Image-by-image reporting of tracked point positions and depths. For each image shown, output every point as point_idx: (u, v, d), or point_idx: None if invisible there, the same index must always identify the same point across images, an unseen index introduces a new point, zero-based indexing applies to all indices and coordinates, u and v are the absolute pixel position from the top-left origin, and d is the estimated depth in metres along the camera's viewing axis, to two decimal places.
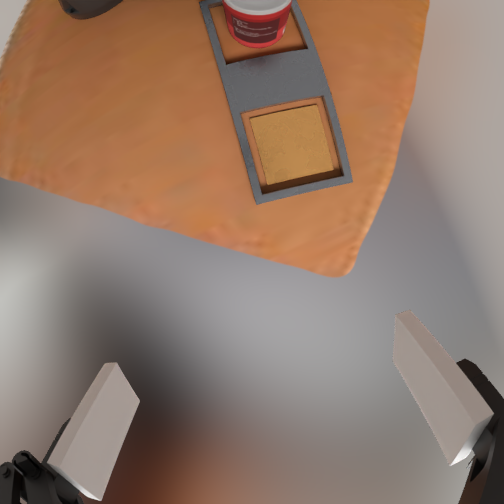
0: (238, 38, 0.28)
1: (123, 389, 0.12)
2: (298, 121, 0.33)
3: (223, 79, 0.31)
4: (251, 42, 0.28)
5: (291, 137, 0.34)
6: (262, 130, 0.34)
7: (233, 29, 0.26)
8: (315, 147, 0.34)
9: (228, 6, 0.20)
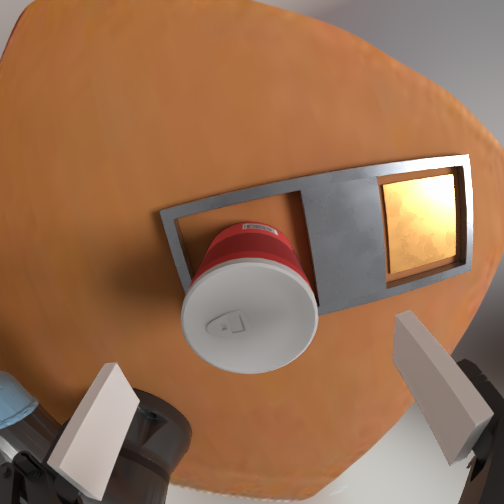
0: None
1: (123, 389, 0.12)
2: (402, 213, 0.24)
3: (340, 308, 0.26)
4: None
5: (418, 224, 0.25)
6: (405, 258, 0.26)
7: None
8: (431, 194, 0.24)
9: None
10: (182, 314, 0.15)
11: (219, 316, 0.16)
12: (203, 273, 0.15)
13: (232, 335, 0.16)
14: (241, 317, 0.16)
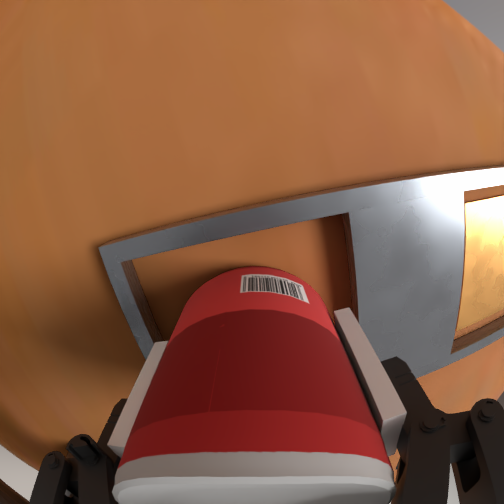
0: None
1: None
2: (483, 247, 0.13)
3: None
4: None
5: (498, 260, 0.14)
6: (476, 309, 0.15)
7: None
8: None
9: None
10: (117, 500, 0.05)
11: None
12: (139, 459, 0.05)
13: None
14: None
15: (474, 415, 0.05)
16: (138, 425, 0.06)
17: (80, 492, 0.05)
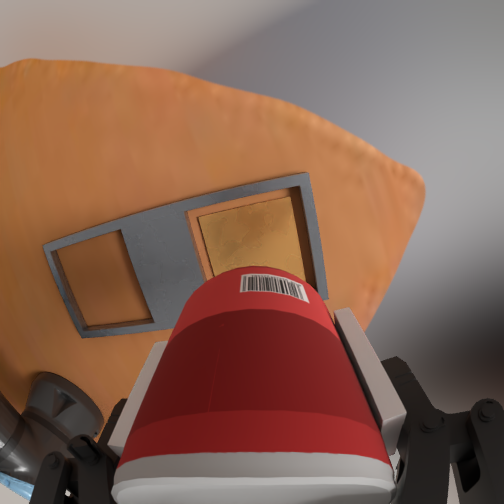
0: None
1: None
2: (223, 243, 0.28)
3: (173, 326, 0.30)
4: None
5: (245, 252, 0.28)
6: None
7: None
8: (259, 221, 0.27)
9: None
10: (116, 501, 0.05)
11: None
12: (138, 459, 0.04)
13: None
14: None
15: (474, 415, 0.05)
16: (137, 425, 0.06)
17: (80, 492, 0.05)
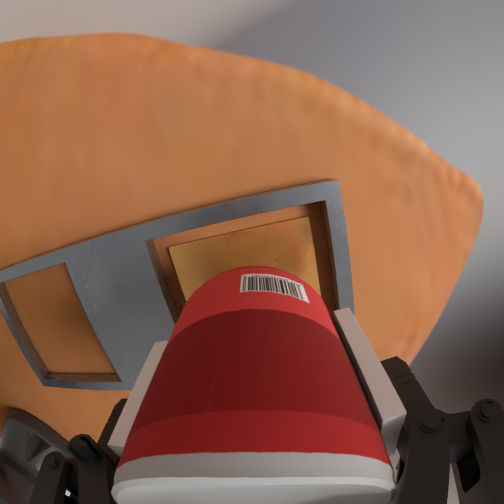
0: None
1: None
2: None
3: None
4: None
5: None
6: None
7: None
8: (261, 254, 0.18)
9: None
10: (116, 500, 0.05)
11: None
12: (138, 459, 0.04)
13: None
14: None
15: (474, 415, 0.05)
16: (137, 425, 0.06)
17: (80, 492, 0.05)
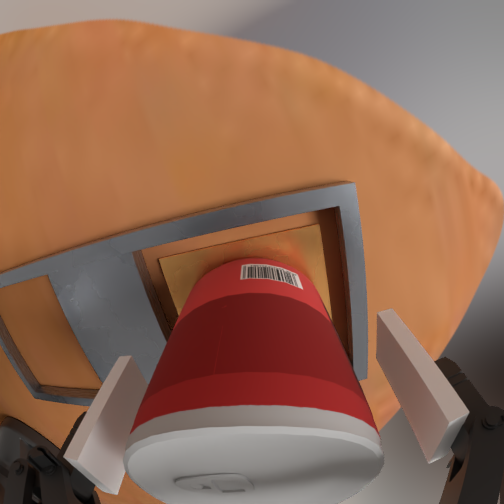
0: None
1: (138, 382, 0.12)
2: None
3: None
4: None
5: None
6: None
7: None
8: None
9: None
10: (127, 469, 0.06)
11: (195, 476, 0.06)
12: (151, 420, 0.06)
13: (222, 491, 0.07)
14: (237, 480, 0.06)
15: None
16: (149, 394, 0.07)
17: (43, 500, 0.04)
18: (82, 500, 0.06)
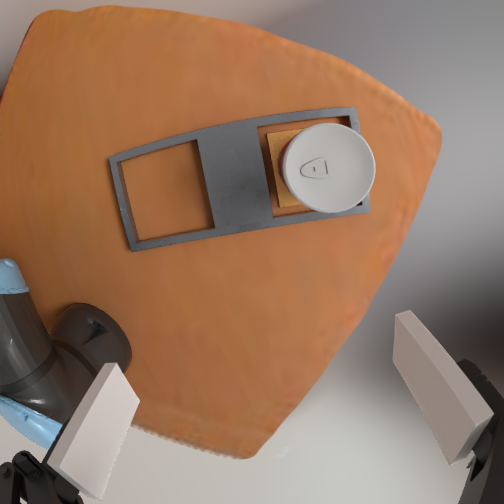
0: None
1: (123, 389, 0.12)
2: None
3: (233, 232, 0.34)
4: None
5: None
6: None
7: None
8: None
9: None
10: (286, 156, 0.22)
11: (311, 161, 0.22)
12: (302, 130, 0.21)
13: (318, 177, 0.22)
14: (325, 162, 0.22)
15: None
16: (294, 136, 0.23)
17: None
18: None
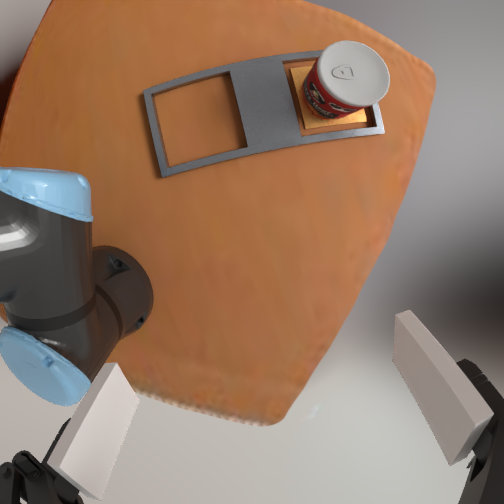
0: None
1: (123, 389, 0.12)
2: None
3: (264, 149, 0.35)
4: None
5: None
6: (317, 118, 0.34)
7: None
8: None
9: (376, 102, 0.24)
10: (320, 60, 0.22)
11: (339, 66, 0.23)
12: (329, 46, 0.22)
13: (346, 78, 0.23)
14: (351, 67, 0.23)
15: None
16: None
17: None
18: None
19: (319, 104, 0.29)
